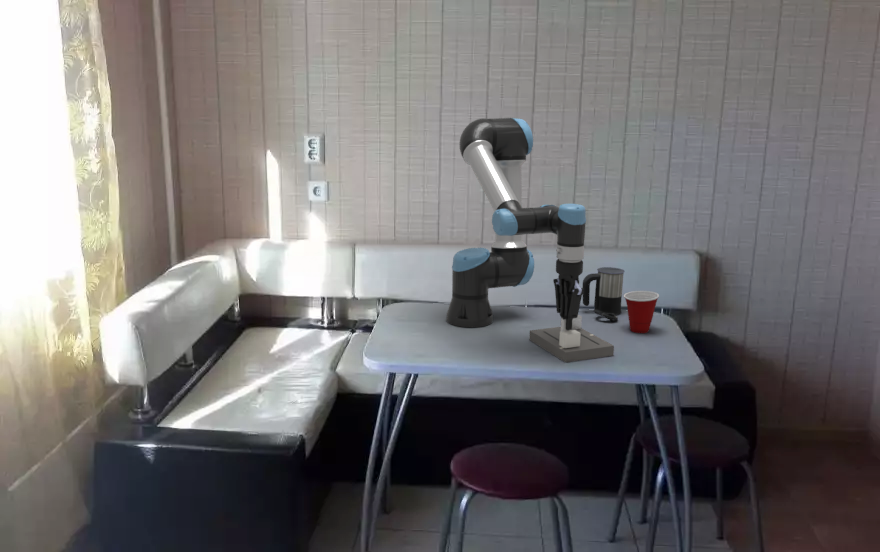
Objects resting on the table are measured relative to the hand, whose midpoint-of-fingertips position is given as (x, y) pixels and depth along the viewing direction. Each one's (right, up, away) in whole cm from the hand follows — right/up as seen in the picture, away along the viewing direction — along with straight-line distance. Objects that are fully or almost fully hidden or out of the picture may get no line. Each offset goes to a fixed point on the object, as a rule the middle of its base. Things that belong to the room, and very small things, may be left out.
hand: (565, 339), depth 236 cm
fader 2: (+4, +2, +14) cm, 15 cm away
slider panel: (+2, -3, +7) cm, 8 cm away
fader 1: (+1, -2, -2) cm, 3 cm away
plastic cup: (+27, +1, +23) cm, 36 cm away
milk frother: (+20, +5, +39) cm, 44 cm away
